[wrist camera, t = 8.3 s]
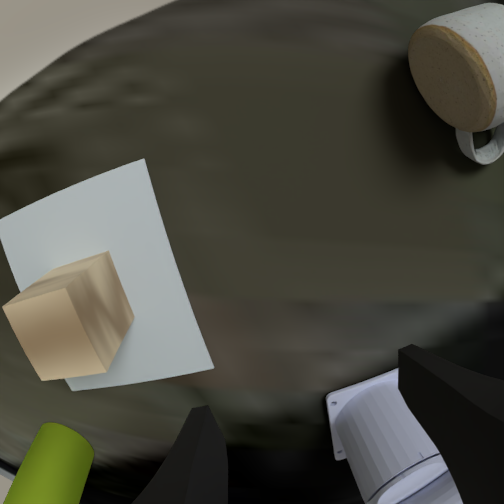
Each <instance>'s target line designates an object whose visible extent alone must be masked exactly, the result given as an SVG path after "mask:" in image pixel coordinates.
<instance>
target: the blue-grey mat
mask: <svg viewBox="0 0 504 504" xmlns="http://www.w3.org/2000/svg"><path fill="white" fill-rule="evenodd" d="M0 238H1V241H2V244H3V247H4V250H5V253H6V256H7V259H8V262H9V264H10V267H11V270H12V272H13V275H14V277H15V280H16V283H17V285H18V287H19V290H20V292H22V291H23V290H25V289H26V288H27V287H29V286H30V285H31V284H33V283H34V282H35V281H37V280H38V279H40V278H41V277H42V276H44V275H45V274H46V273H48V272H49V271H51V270H52V269H54V268H57V267H60V266H63V265H66V264H69V263H72V262H75V261H78V260H81V259H84V258H87V257H90V256H93V255H96V254H99V253H102V252H106V251H109V252H110V255H111V258H112V261H113V263H114V266H115V269H116V271H117V274H118V277H119V279H120V282H121V284H122V287H123V289H124V292H125V294H126V297H127V299H128V302H129V304H130V306H131V309H132V311H133V314H134V316H135V317H134V319H133V321H132V323H131V325H130V327H129V329H128V331H127V333H126V335H125V337H124V339H123V341H122V343H121V344H120V346H119V348H118V350H117V352H116V354H115V357H114V359H113V361H112V363H111V365H110V367H109V369H108V371H107V372H106V373H100V374H93V375H86V376H79V377H71V378H65V380H66V382H67V383H68V385H69V387H70V388H71V390H72V391H78V390H87V389H96V388H104V387H111V386H119V385H126V384H132V383H139V382H145V381H151V380H157V379H163V378H168V377H174V376H179V375H184V374H189V373H194V372H199V371H204V370H208V369H213V368H214V365H213V363H212V360H211V358H210V355H209V353H208V350H207V348H206V345H205V343H204V340H203V337H202V335H201V332H200V329H199V327H198V324H197V321H196V319H195V316H194V313H193V311H192V308H191V305H190V302H189V300H188V297H187V294H186V291H185V288H184V285H183V282H182V280H181V277H180V274H179V271H178V268H177V265H176V262H175V259H174V256H173V253H172V250H171V247H170V244H169V240H168V237H167V234H166V231H165V228H164V225H163V221H162V218H161V215H160V211H159V208H158V205H157V201H156V198H155V195H154V191H153V188H152V184H151V181H150V177H149V173H148V170H147V166H146V162H145V159H141V160H138V161H136V162H133V163H130V164H127V165H124V166H122V167H119V168H116V169H113V170H111V171H108V172H105V173H103V174H100V175H98V176H95V177H93V178H90V179H88V180H85V181H83V182H80V183H78V184H75V185H73V186H71V187H68V188H66V189H64V190H61V191H59V192H57V193H54V194H52V195H50V196H48V197H45V198H43V199H41V200H39V201H37V202H35V203H33V204H30V205H28V206H26V207H24V208H22V209H20V210H18V211H16V212H14V213H12V214H10V215H8V216H6V217H4V218H2V219H0Z"/></svg>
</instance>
